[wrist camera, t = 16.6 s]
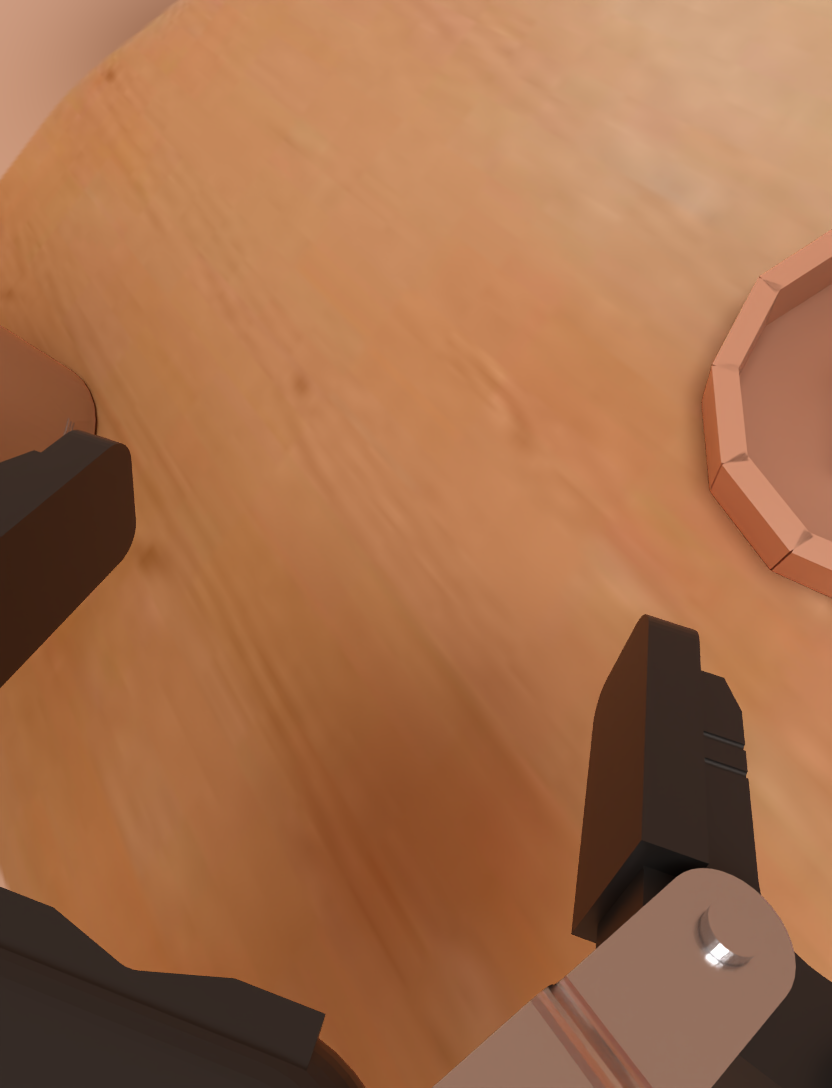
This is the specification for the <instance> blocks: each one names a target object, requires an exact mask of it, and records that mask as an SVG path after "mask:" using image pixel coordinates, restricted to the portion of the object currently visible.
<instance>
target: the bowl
mask: <svg viewBox="0 0 832 1088" xmlns="http://www.w3.org/2000/svg"><path fill="white" fill-rule="evenodd" d="M701 403H702V414H703V424H704V435H705V446H706V457H707V467H708V478H709V489H710V490H711V491H710V492H711V493H712V495H713V496H714V497H715V499H716V500H717V501H718V503H719V504H720V505H721V506H722V508H723V509H724V510H725V512H726V513H727V514H728V516H729V517H730V518H731V519H732V521H733V522H734V523H735V525H736V526H737V527H738V529H739V530H740V531H741V532H742V534H743V535H744V536H745V538H746V539H747V540H748V542H749V543H750V544H751V545H752V547H753V548H754V549H755V551H756V552H757V553H758V555H759V556H760V557H761V558H762V560H763V561H764V562H765V564H766V565H767V566H768V568H769V569H772V568H773V569H772V571H773V572H775V573H778V574H780V575H782V576H784V577H786V578H789V579H791V580H793V581H795V582H797V583H800V584H802V585H804V586H806V587H808V588H811V589H813V590H815V591H817V592H820V593H822V594H824V595H826V596H828V597H831V598H832V229H831V230H830V231H828V232H827V233H825V234H824V235H822V236H821V237H819V238H818V239H816V240H814V241H813V242H811V243H810V244H808V245H807V246H805V247H804V248H802V249H801V250H799V251H797V252H796V253H794V254H793V255H791V256H790V257H788V258H787V259H785V260H784V261H782V262H781V263H779V264H777V265H776V266H774V267H773V268H771V269H770V270H768V271H767V272H765V273H764V274H762V275H760V276H759V278H758V279H757V281H756V283H755V284H754V286H753V288H752V290H751V292H750V294H749V296H748V298H747V299H746V301H745V303H744V305H743V307H742V309H741V311H740V313H739V315H738V316H737V318H736V320H735V322H734V324H733V326H732V328H731V330H730V331H729V333H728V335H727V337H726V339H725V341H724V343H723V345H722V346H721V348H720V350H719V352H718V354H717V356H716V358H715V360H714V362H713V363H712V366H711V370H710V373H709V377H708V381H707V384H706V388H705V391H704V395H703V398H702V402H701Z"/></svg>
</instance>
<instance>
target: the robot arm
mask: <svg viewBox="0 0 832 1088" xmlns="http://www.w3.org/2000/svg"><path fill="white" fill-rule="evenodd" d="M95 423H96V417H95V407H94V403H93V400H92V397H91V394H90V391H89V389H88V388H87V386H86V385H85V383H84V382H83V380H82V379H81V378H80V377H79V376H78V375H76V374H75V373H74V372H73V371H72V370H70V369H68V368H67V367H65V366H64V365H62V364H61V363H59V362H57V361H56V360H54V359H53V358H51V357H49V356H48V355H46V354H45V353H43V352H42V351H40V350H38V349H37V348H35V347H34V346H32V345H30V344H29V343H27V342H26V341H25V340H23V339H21V338H20V337H18V336H17V335H15V334H14V333H12V332H10V331H9V330H7V329H6V328H4V327H2V326H1V325H0V688H1V687H2V686H3V685H4V683H5V682H6V681H7V680H8V679H9V678H10V677H11V676H12V675H13V674H14V673H15V672H16V671H17V670H18V669H19V668H20V667H21V666H22V665H23V664H24V663H25V661H26V660H27V659H28V658H29V657H30V656H31V655H32V654H33V653H34V652H35V651H36V650H37V649H38V648H39V647H40V646H41V645H42V644H43V643H44V642H45V640H46V639H47V638H48V637H49V636H50V635H51V634H52V633H53V632H54V631H55V630H56V629H57V628H58V627H59V626H60V625H61V624H62V623H63V622H64V621H65V620H66V618H67V617H68V616H69V615H70V614H71V613H72V612H73V611H74V610H75V609H76V608H77V607H78V606H79V605H80V604H81V603H82V602H83V601H84V600H85V599H86V598H87V596H88V595H89V594H90V593H91V592H92V591H93V590H94V589H95V588H96V587H97V586H98V585H99V584H100V583H101V582H102V581H103V580H104V579H105V578H106V577H107V575H108V574H109V573H110V572H111V571H112V570H113V569H114V568H115V567H116V566H117V565H118V564H119V563H120V562H121V561H122V559H123V558H124V557H125V555H126V554H127V552H128V550H129V548H130V546H131V544H132V541H133V538H134V534H135V528H136V517H135V504H134V490H133V477H132V463H131V455H130V451H129V449H128V448H127V447H126V445H124V444H122V443H119V442H115V441H112V440H109V439H106V438H103V437H100V436H97V435H94V433H95ZM744 745H745V740H744V730H743V720H742V711H741V709H740V707H739V705H738V704H737V702H736V700H735V698H734V696H733V694H732V692H731V690H730V688H729V687H728V685H727V683H726V681H725V679H724V678H722V677H719V676H716V675H713V674H710V673H707V672H704V671H701V665H700V642H699V635H698V632H697V631H696V630H693V629H690V628H687V627H684V626H680V625H677V624H674V623H671V622H668V621H665V620H662V619H659V618H656V617H653V616H649V615H646V614H645V615H643V616H642V617H641V618H640V619H639V621H638V622H637V624H636V626H635V628H634V630H633V632H632V633H631V635H630V637H629V639H628V641H627V643H626V645H625V646H624V648H623V650H622V652H621V654H620V656H619V658H618V659H617V661H616V663H615V665H614V667H613V669H612V671H611V672H610V674H609V676H608V678H607V680H606V682H605V684H604V686H603V689H602V691H601V694H600V697H599V700H598V704H597V707H596V711H595V716H594V722H593V731H592V741H591V751H590V760H589V770H588V779H587V789H586V799H585V808H584V818H583V827H582V837H581V847H580V856H579V866H578V875H577V885H576V895H575V904H574V914H573V923H572V933H571V934H572V935H575V936H578V937H581V938H583V939H586V940H589V941H591V942H594V943H596V949H595V950H594V951H593V952H592V953H591V954H590V955H589V956H588V957H587V958H585V959H584V960H583V961H582V962H581V963H580V964H579V965H578V966H577V967H575V968H574V969H573V970H572V971H571V972H570V973H569V974H568V975H566V976H565V977H564V978H563V979H562V980H560V981H559V982H558V983H556V984H555V985H553V984H552V985H550V986H548V987H547V988H545V989H544V990H543V991H541V992H540V993H539V994H538V995H536V996H535V997H534V998H533V999H532V1000H530V1001H529V1002H528V1003H527V1004H526V1005H525V1006H523V1007H522V1008H521V1009H520V1010H519V1011H518V1012H517V1013H516V1014H514V1015H513V1016H512V1017H511V1018H510V1019H509V1020H508V1021H507V1022H505V1023H504V1024H503V1025H502V1026H501V1027H500V1028H499V1029H498V1030H496V1031H495V1032H494V1033H493V1034H492V1035H491V1036H490V1037H489V1038H487V1039H486V1040H485V1041H484V1042H483V1043H482V1044H481V1045H480V1046H478V1047H477V1048H476V1049H475V1050H474V1051H473V1052H472V1053H471V1054H469V1055H468V1056H467V1057H466V1058H465V1059H464V1060H463V1061H462V1062H460V1063H459V1064H458V1065H457V1066H456V1067H455V1068H454V1069H453V1070H451V1071H450V1072H449V1073H448V1074H447V1075H446V1076H445V1077H444V1078H442V1079H441V1080H440V1081H439V1082H438V1083H437V1084H436V1085H435V1086H433V1087H432V1088H832V982H831V981H829V980H828V979H826V978H825V977H823V976H822V975H821V974H819V973H818V972H817V971H815V970H814V969H813V968H811V967H810V966H809V965H808V964H807V963H806V962H805V961H803V960H802V959H801V958H800V957H799V956H798V955H797V954H796V953H795V952H794V950H793V946H792V942H791V940H790V937H789V935H788V932H787V930H786V928H785V926H784V924H783V923H782V921H781V919H780V917H779V916H778V915H777V913H776V912H775V910H774V909H773V908H772V906H771V905H770V904H769V903H768V902H767V901H766V900H765V899H764V897H762V896H761V893H760V888H759V882H758V872H757V862H756V852H755V842H754V831H753V821H752V811H751V801H750V791H749V781H748V778H746V774H747V772H748V771H747V760H746V751H744V750H743V748H744ZM324 1017H325V1014H324V1013H321V1012H319V1011H316V1010H314V1009H311V1008H309V1007H306V1006H304V1005H301V1004H298V1003H296V1002H293V1001H291V1000H288V999H286V998H283V997H281V996H278V995H275V994H273V993H270V992H268V991H265V990H263V989H260V988H258V987H255V986H252V985H250V984H247V983H245V982H242V981H240V980H237V979H234V978H222V977H210V976H197V975H185V974H173V973H160V972H148V971H138V970H132V969H130V968H127V967H125V966H124V965H122V964H121V963H119V962H118V961H117V960H116V959H114V958H113V957H112V956H111V955H110V954H108V953H107V952H106V951H105V950H104V949H102V948H101V947H100V946H99V945H98V944H96V943H95V942H94V941H93V940H92V939H90V938H89V937H88V936H87V935H86V934H85V933H83V932H82V931H81V930H80V929H79V928H77V927H76V926H75V925H74V924H73V923H71V922H70V921H69V920H68V919H67V918H65V917H64V916H63V915H62V914H61V913H59V912H58V911H57V910H56V909H55V908H53V907H51V906H48V905H45V904H43V903H40V902H38V901H35V900H33V899H30V898H28V897H25V896H22V895H20V894H17V893H15V892H12V891H10V890H7V889H5V888H2V887H0V1088H365V1086H364V1085H363V1083H362V1082H361V1081H360V1079H359V1078H358V1076H357V1075H356V1074H355V1072H354V1071H353V1070H352V1069H351V1068H350V1067H349V1066H348V1065H347V1064H346V1063H345V1061H344V1060H343V1059H342V1058H341V1057H340V1056H339V1055H338V1054H337V1053H336V1052H335V1051H334V1050H332V1049H331V1048H330V1047H329V1046H327V1045H326V1044H325V1043H324V1042H323V1041H321V1040H320V1039H319V1034H320V1031H321V1027H322V1024H323V1021H324Z"/></svg>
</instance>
